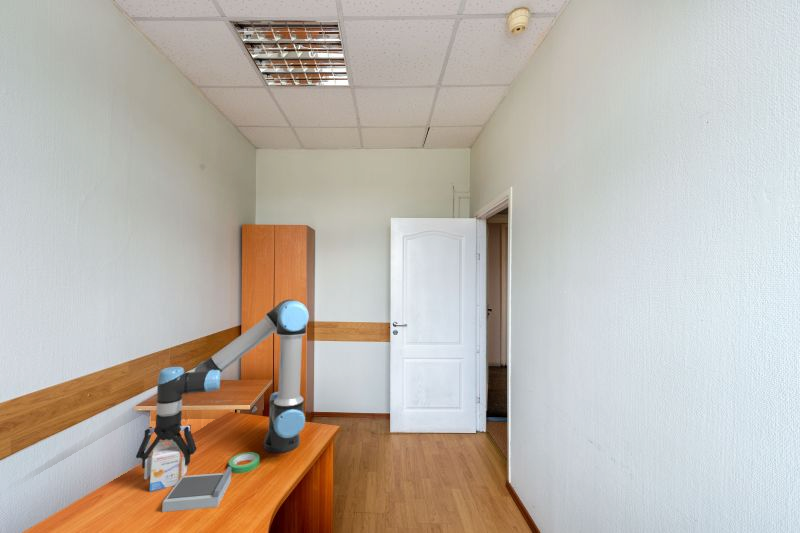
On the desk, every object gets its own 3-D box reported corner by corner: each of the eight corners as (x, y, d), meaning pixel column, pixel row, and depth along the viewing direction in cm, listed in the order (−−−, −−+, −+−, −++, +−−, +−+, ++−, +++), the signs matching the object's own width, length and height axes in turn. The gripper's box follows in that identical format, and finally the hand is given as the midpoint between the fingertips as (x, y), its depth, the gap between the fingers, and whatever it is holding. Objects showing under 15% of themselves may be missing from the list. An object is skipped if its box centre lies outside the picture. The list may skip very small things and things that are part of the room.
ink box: (149, 492, 113) (151, 448, 114) (150, 484, 117) (152, 442, 118) (179, 484, 118) (181, 442, 118) (179, 477, 122) (181, 436, 123)
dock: (230, 480, 121) (231, 466, 121) (217, 506, 107) (218, 490, 107) (182, 484, 118) (183, 470, 118) (162, 512, 104) (163, 495, 104)
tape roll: (243, 477, 124) (244, 469, 124) (221, 470, 128) (222, 463, 128) (265, 462, 134) (265, 455, 134) (244, 456, 138) (244, 449, 138)
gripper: (208, 406, 124) (205, 466, 124) (138, 409, 120) (134, 472, 119) (200, 414, 117) (197, 478, 116) (125, 418, 113) (121, 484, 112)
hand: (165, 475), depth 118 cm, fingers open, 11 cm apart
